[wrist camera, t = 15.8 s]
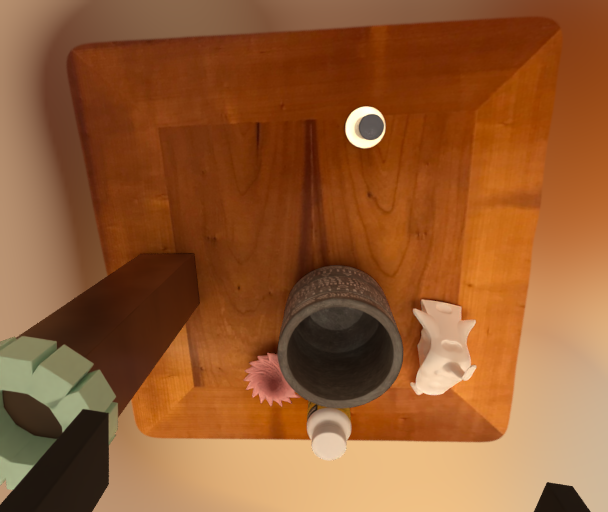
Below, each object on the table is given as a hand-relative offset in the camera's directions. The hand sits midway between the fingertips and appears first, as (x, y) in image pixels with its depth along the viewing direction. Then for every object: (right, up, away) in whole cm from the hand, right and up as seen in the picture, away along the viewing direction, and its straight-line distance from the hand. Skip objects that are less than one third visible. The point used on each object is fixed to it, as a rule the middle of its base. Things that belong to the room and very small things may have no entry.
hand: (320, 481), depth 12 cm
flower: (-4, -8, +41) cm, 42 cm away
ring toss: (+6, +21, +32) cm, 38 cm away
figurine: (+16, -5, +39) cm, 43 cm away
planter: (+3, +1, +38) cm, 38 cm away
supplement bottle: (+3, -12, +42) cm, 44 cm away
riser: (-17, +4, +38) cm, 42 cm away
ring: (-18, -3, +15) cm, 24 cm away
